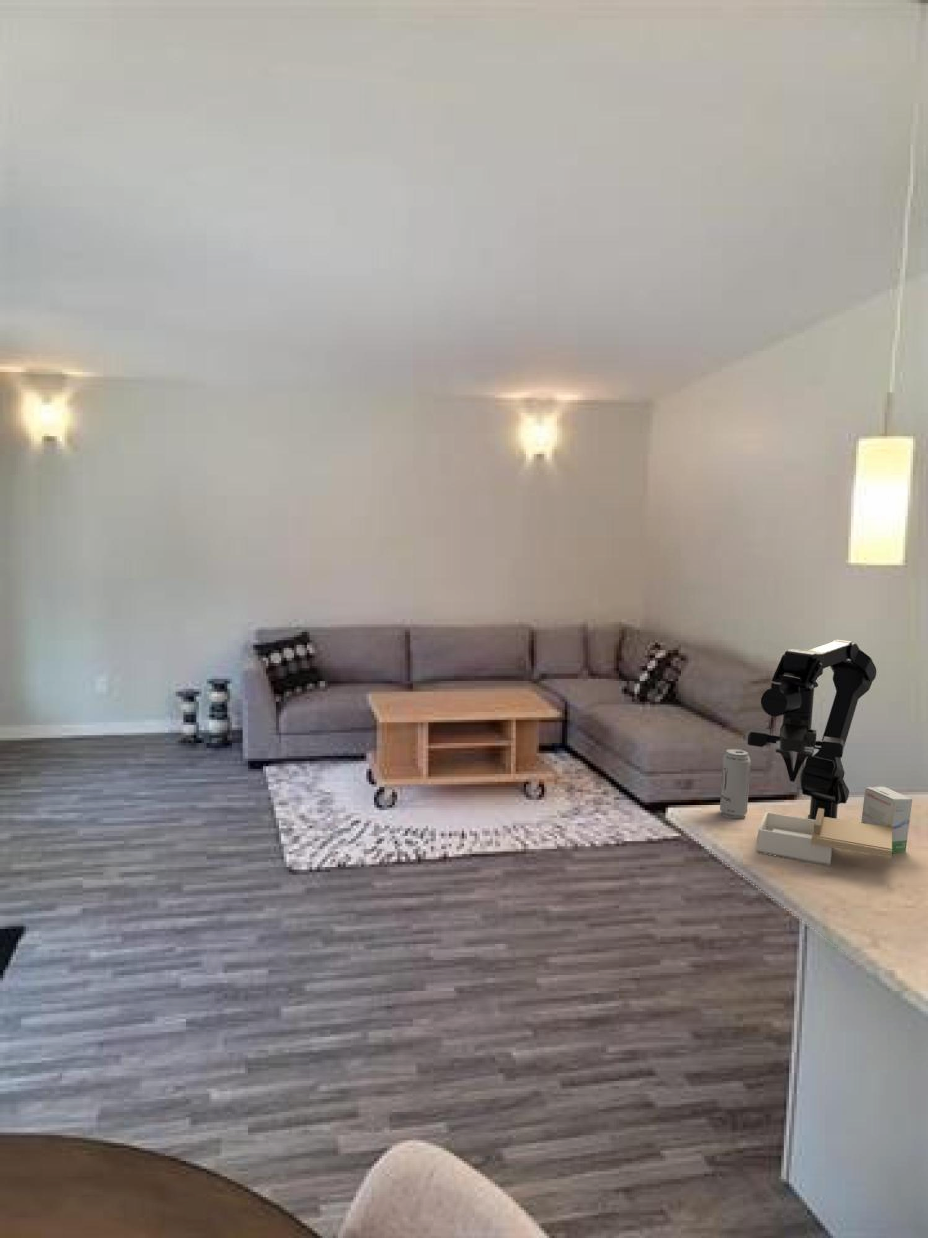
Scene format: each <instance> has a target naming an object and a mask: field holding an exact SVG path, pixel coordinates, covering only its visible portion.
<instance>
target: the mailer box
mask: <svg viewBox="0 0 928 1238" xmlns="http://www.w3.org/2000/svg"><path fill="white" fill-rule="evenodd" d="M807 818H808V817H806V818H805V817H799V816H794V815H788V814H787V815H786V814H782V813H781V814H780V813H777V812H776V813H775V812H770V811H769V812H768V811H765V813H764V816H763V818H762V820H761V821H760V825H759V827H758V830H757V841H756V842H757V844H756V846H757V847H756V853H757V852H758V853H757V854H760V853H766V854H771V855H776V856H775V857H777V856H779V857H778V858H782V857H784V858H783V859H787V858H790V859H789V860H794V861H798V860H799V861H798V862H805V863H809V864H815V865H820V866H825V867H826V866H827V867H830V866H831V862H832V856H833V851H834V850H833V849H834V848H832V847H826V846H821V845H815V844H811V841H812V834H813V830H814V824H815V820H813V819H807ZM766 854H765V855H766ZM771 855H770V856H771Z"/></svg>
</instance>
